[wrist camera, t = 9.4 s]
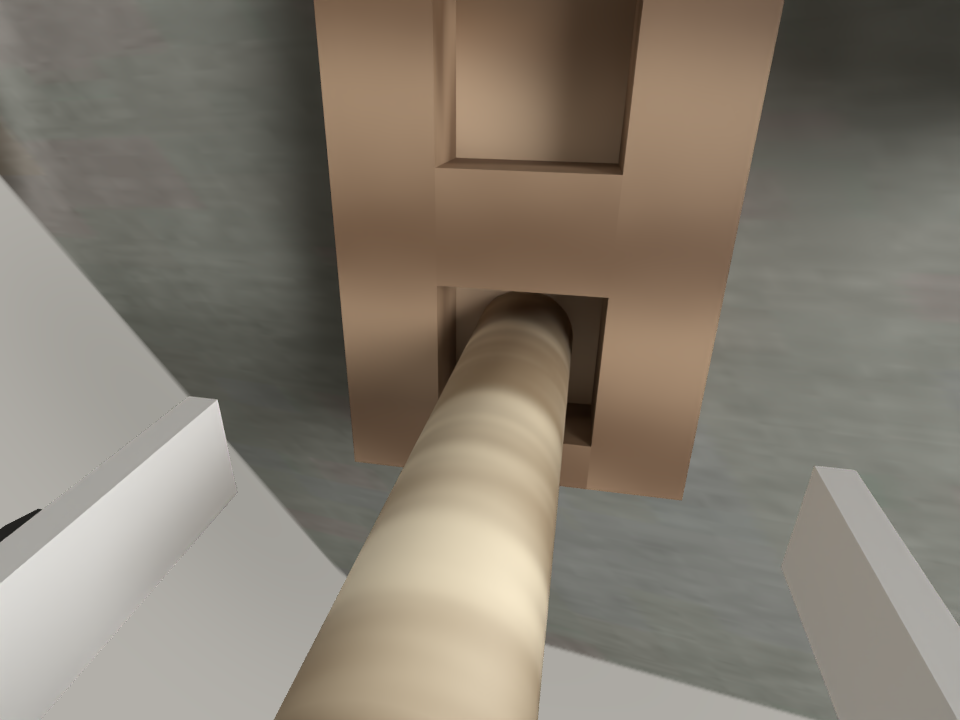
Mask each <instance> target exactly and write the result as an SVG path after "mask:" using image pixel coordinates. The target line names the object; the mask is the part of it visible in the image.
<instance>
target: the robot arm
mask: <svg viewBox="0 0 960 720" xmlns="http://www.w3.org/2000/svg"><path fill="white" fill-rule="evenodd" d="M236 494H237V487H236V483H235V478H234V474H233V469H232V464H231V459H230V455H229V450H228V446H227V441H226V436H225V432H224V427H223V422H222V418H221V413H220V409H219V404H218V399H209V398H199V397H190V396H188V397H187V398H185V399H184V400H183V401H182V402H180V403H179V404H178V405H176V406H175V407H174V408H172V409H171V410H170V411H169V412H167V413H166V414H165V415H163V416H162V417H161V418H160V419H158V420H157V421H156V422H155V423H153V424H152V425H151V426H149V427H148V428H147V429H145V430H144V431H143V432H142V433H140V434H139V435H138V436H136V437H135V438H134V439H133V440H131V441H130V442H129V443H127V444H126V445H125V446H124V447H122V448H121V449H120V450H118V451H117V452H116V453H115V454H113V455H112V456H111V457H109V458H108V459H107V460H106V461H104V462H103V463H102V464H100V465H99V466H98V467H97V468H95V469H94V470H93V471H91V472H90V473H89V474H88V475H86V476H85V477H84V478H82V479H81V480H80V481H79V482H77V483H76V484H75V485H73V486H72V487H71V488H70V489H68V490H67V491H66V492H64V493H63V494H62V495H61V496H59V497H58V498H57V499H55V500H54V501H53V502H52V503H50V504H49V505H48V506H46V507H45V508H44V509H43V510H42V509H37V510H35V511H33V512H31V513H29V514H27V515H25V516H23V517H21V518H19V519H17V520H15V521H13V522H11V523H9V524H7V525H5V526H4V527H2V528H1V529H0V720H41V719H42V717H43V716H44V715H45V714H46V713H47V712H48V711H49V709H50V708H51V707H52V706H53V705H54V704H55V702H56V701H57V700H58V699H59V698H60V697H61V696H62V694H63V693H64V692H65V691H66V690H67V689H68V688H69V686H70V685H71V684H72V683H73V682H74V681H75V679H76V678H77V677H78V676H79V675H80V674H81V672H82V671H83V670H84V669H85V668H86V667H87V665H88V664H89V663H90V662H91V661H92V660H93V659H94V657H95V656H96V655H97V654H98V653H99V652H100V651H101V649H102V648H103V647H104V646H105V645H106V644H107V643H108V641H109V640H110V639H111V638H112V637H113V636H114V634H115V633H116V632H117V631H118V630H119V629H120V628H121V626H122V625H123V624H124V623H125V622H126V620H127V619H128V618H129V617H130V616H131V615H132V614H133V613H134V611H135V610H136V609H137V608H138V607H139V606H140V604H141V603H142V602H143V601H144V600H145V599H146V598H147V596H148V595H149V594H150V593H151V592H152V591H153V589H154V588H155V587H156V586H157V585H158V584H159V583H160V581H161V580H162V579H163V578H164V577H165V575H166V574H167V573H168V572H169V571H170V570H171V569H172V568H173V566H174V565H175V564H176V563H177V562H178V561H179V560H180V558H181V557H182V556H183V555H184V554H185V553H186V551H187V550H188V549H189V548H190V547H191V545H192V544H193V543H194V542H195V541H196V540H197V538H199V536H200V535H201V534H202V533H203V532H204V531H205V529H206V528H207V527H208V526H209V525H210V524H211V522H212V521H213V520H214V519H215V518H216V517H217V516H218V514H219V513H220V512H221V511H222V510H223V509H224V508H225V507H226V505H227V504H228V503H229V502H230V501H231V499H232V498H233V497H234V496H235V495H236ZM781 568H782V571H783V574H784V576H785V579H786V582H787V584H788V587H789V590H790V592H791V595H792V598H793V600H794V603H795V605H796V608H797V611H798V613H799V616H800V619H801V621H802V624H803V627H804V629H805V632H806V635H807V637H808V640H809V642H810V645H811V648H812V650H813V653H814V656H815V658H816V661H817V664H818V666H819V669H820V672H821V674H822V677H823V680H824V682H825V685H826V687H827V690H828V693H829V695H830V698H831V701H832V703H833V706H834V709H835V711H836V714H837V717H838V719H839V720H960V627H959V625H958V624H957V622H956V621H955V619H954V618H953V616H952V615H951V613H950V612H949V610H948V609H947V607H946V606H945V604H944V603H943V601H942V600H941V598H940V596H939V595H938V593H937V592H936V590H935V589H934V587H933V586H932V584H931V583H930V581H929V580H928V578H927V577H926V575H925V574H924V572H923V571H922V569H921V568H920V566H919V565H918V563H917V562H916V560H915V559H914V557H913V556H912V554H911V553H910V551H909V550H908V548H907V547H906V545H905V544H904V542H903V541H902V539H901V538H900V536H899V535H898V533H897V532H896V530H895V529H894V527H893V526H892V524H891V523H890V521H889V520H888V518H887V517H886V515H885V513H884V512H883V510H882V509H881V507H880V506H879V504H878V503H877V501H876V500H875V498H874V497H873V495H872V494H871V492H870V491H869V489H868V488H867V486H866V485H865V483H864V482H863V480H862V479H861V477H860V476H859V474H858V473H857V471H856V470H849V469H840V468H831V467H822V466H814V468H813V472H812V475H811V478H810V481H809V484H808V487H807V490H806V493H805V496H804V499H803V502H802V505H801V508H800V511H799V514H798V517H797V520H796V523H795V526H794V529H793V532H792V535H791V538H790V541H789V544H788V547H787V550H786V553H785V556H784V560H783V563H782V566H781Z"/></svg>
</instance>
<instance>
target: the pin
mask: <svg viewBox="0 0 960 720" xmlns="http://www.w3.org/2000/svg"><path fill="white" fill-rule="evenodd" d="M572 342H573V331H572V326H571V322H570V320H569V317H568V315H567V314H566V312H565V311H564V309H563V308H562V307H561V306H560V305H559V304H558V303H557V302H556V301H555V300H553V299H552V298H550V297H549V296H547V295H545V294H542V293H532V292H518V291H511V292H508V293H505V294H503V295H501V296H499V297H497V298H496V299H495V300H493V301H492V302H491V303H490V304H489V305H488V306H487V308H486V309H485V310H484V312H483V314H482V316H481V318H480V320H479V322H478V324H477V326H476V327H475V329H474V331H473V333H472V335H471V337H470V339H469V341H468V343H467V345H466V347H465V349H464V351H463V353H462V355H461V357H460V359H459V361H458V363H457V364H456V366H455V368H454V370H453V372H452V374H451V376H450V378H449V380H448V382H447V384H446V386H445V388H444V390H443V392H442V394H441V396H440V398H439V399H438V401H437V403H436V405H435V407H434V409H433V411H432V413H431V415H430V417H429V419H428V421H427V423H426V425H425V427H424V429H423V431H422V433H421V435H420V436H419V438H418V440H417V442H416V444H415V446H414V448H413V450H412V452H411V454H410V456H409V458H408V460H407V462H406V464H405V466H404V468H403V470H402V471H401V473H400V475H399V477H398V479H397V481H396V483H395V485H394V487H393V489H392V491H391V493H390V495H389V497H388V499H387V501H386V503H385V505H384V507H383V508H382V510H381V512H380V514H379V516H378V518H377V520H376V522H375V524H374V526H373V528H372V530H371V532H370V534H369V536H368V538H367V540H366V542H365V543H364V545H363V547H362V549H361V551H360V553H359V555H358V557H357V559H356V561H355V563H354V565H353V567H352V569H351V571H350V573H349V575H348V577H347V579H346V580H345V582H344V584H343V586H342V588H341V590H340V592H339V594H338V596H337V598H336V600H335V602H334V604H333V606H332V608H331V610H330V612H329V614H328V616H327V617H326V620H325V621H324V624H323V625H322V627H321V629H320V631H319V633H318V635H317V637H316V639H315V641H314V643H313V645H312V647H311V649H310V651H309V653H308V654H307V656H306V658H305V660H304V662H303V664H302V666H301V668H300V670H299V672H298V674H297V676H296V678H295V680H294V682H293V684H292V686H291V688H290V689H289V691H288V693H287V695H286V697H285V699H284V701H283V703H282V705H281V707H280V709H279V711H278V713H277V715H276V717H275V719H274V720H538V711H539V700H540V689H541V678H542V667H543V657H544V646H545V635H546V624H547V613H548V602H549V592H550V581H551V570H552V559H553V548H554V537H555V526H556V516H557V505H558V494H559V483H560V472H561V461H562V450H563V440H564V429H565V418H566V407H567V396H568V385H569V374H570V363H571V353H572Z"/></svg>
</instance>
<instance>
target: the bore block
mask: <svg viewBox="0 0 960 720" xmlns="http://www.w3.org/2000/svg"><path fill="white" fill-rule="evenodd" d="M783 5H784V0H314V10H315V21H316V32H317V43H318V55H319V66H320V77H321V88H322V99H323V110H324V121H325V132H326V144H327V155H328V166H329V177H330V188H331V199H332V210H333V222H334V233H335V244H336V255H337V266H338V277H339V288H340V300H341V311H342V322H343V333H344V344H345V355H346V366H347V378H348V389H349V400H350V411H351V422H352V433H353V444H354V456H355V462H363V463H372V464H380V465H388V466H397V467H404V466H405V464H406V462H407V460H408V458H409V456H410V454H411V452H412V450H413V448H414V446H415V444H416V442H417V440H418V438H419V436H420V435H421V433H422V431H423V429H424V427H425V425H426V423H427V421H428V419H429V417H430V415H431V413H432V411H433V409H434V407H435V405H436V403H437V401H438V399H439V398H440V396H441V394H442V392H443V390H444V388H445V386H446V384H447V382H448V380H449V378H450V376H451V374H452V372H453V370H454V368H455V366H456V364H457V363H458V361H459V359H460V357H461V355H462V353H463V351H464V349H465V347H466V345H467V343H468V341H469V339H470V337H471V335H472V333H473V331H474V329H475V327H476V326H477V324H478V322H479V320H480V318H481V316H482V314H483V312H484V310H485V309H486V308H487V306H488V305H489V304H490V303H491V302H492V301H493V300H495V299H496V298H497V297H499V296H501V295H503V294H505V293H508V292H511V291H518V292H532V293H542V294H545V295H547V296H549V297H550V298H552V299H553V300H555V301H556V302H557V303H558V304H559V305H560V306H561V307H562V308H563V309H564V311H565V312H566V314H567V315H568V317H569V320H570V322H571V326H572V331H573V342H572V353H571V363H570V374H569V385H568V396H567V407H566V418H565V429H564V440H563V450H562V461H561V472H560V483H559V486H565V487H573V488H582V489H590V490H598V491H607V492H615V493H624V494H632V495H640V496H649V497H657V498H666V499H674V500H682V497H683V492H684V487H685V482H686V478H687V473H688V468H689V463H690V458H691V453H692V448H693V443H694V439H695V434H696V429H697V424H698V419H699V414H700V409H701V404H702V400H703V395H704V390H705V385H706V380H707V375H708V370H709V365H710V361H711V356H712V351H713V346H714V341H715V336H716V331H717V326H718V322H719V317H720V312H721V307H722V302H723V297H724V292H725V287H726V283H727V278H728V273H729V268H730V263H731V258H732V253H733V248H734V244H735V239H736V234H737V229H738V224H739V219H740V214H741V209H742V205H743V200H744V195H745V190H746V185H747V180H748V175H749V170H750V166H751V161H752V156H753V151H754V146H755V141H756V136H757V131H758V127H759V122H760V117H761V112H762V107H763V102H764V97H765V92H766V88H767V83H768V78H769V73H770V68H771V63H772V58H773V53H774V49H775V44H776V39H777V34H778V29H779V24H780V19H781V14H782V10H783Z"/></svg>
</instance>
